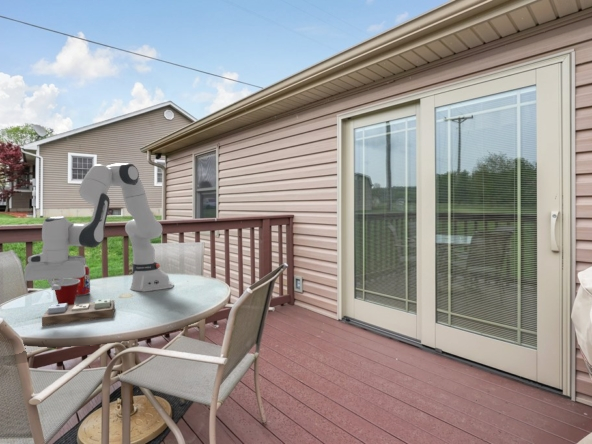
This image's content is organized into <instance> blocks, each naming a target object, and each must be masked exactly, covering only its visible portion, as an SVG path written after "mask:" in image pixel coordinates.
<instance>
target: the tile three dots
mask: <svg viewBox="0 0 592 444" xmlns="http://www.w3.org/2000/svg"><path fill="white" fill-rule="evenodd" d="M81 304H82V305H74V307H73V308H72V311H77V310H86V309H89V307H90V304H83V303H81Z"/></svg>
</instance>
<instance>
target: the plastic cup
mask: <svg viewBox="0 0 592 444" xmlns="http://www.w3.org/2000/svg"><path fill="white" fill-rule="evenodd" d="M52 282H53V284H54V285H59V283H60V282H61V281H59V279H54V280H53V281H52ZM79 282H80V280H79V279H73V278H65V279H64V281H63V283H62V284H61V289H60V290H54V292H55V297H56V298H55V299H56V302H57V304H63V303H67V305H73V304H76V303H75V302H76V298H77V296H76V293H77V287H78V284H79Z"/></svg>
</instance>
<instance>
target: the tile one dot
mask: <svg viewBox="0 0 592 444" xmlns="http://www.w3.org/2000/svg"><path fill="white" fill-rule="evenodd" d="M47 310H48V314H50V313H59V312H66V310H67V303H63V304H58V303H55V304H51V305H50V306H49V307H48V308H47Z"/></svg>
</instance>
